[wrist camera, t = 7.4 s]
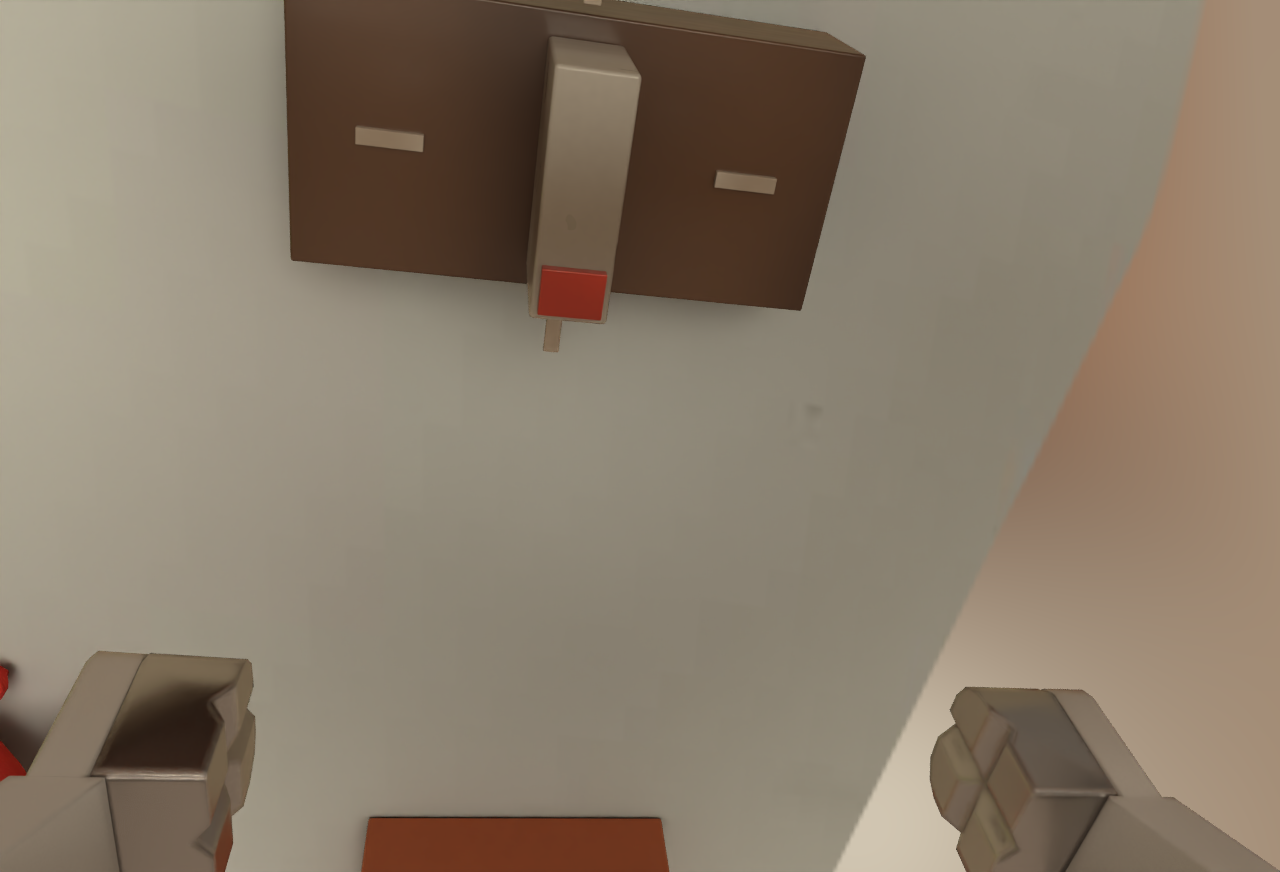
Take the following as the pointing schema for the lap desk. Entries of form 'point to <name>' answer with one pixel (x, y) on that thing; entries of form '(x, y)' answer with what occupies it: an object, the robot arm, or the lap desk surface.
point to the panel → (509, 132)
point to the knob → (580, 178)
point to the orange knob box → (514, 845)
